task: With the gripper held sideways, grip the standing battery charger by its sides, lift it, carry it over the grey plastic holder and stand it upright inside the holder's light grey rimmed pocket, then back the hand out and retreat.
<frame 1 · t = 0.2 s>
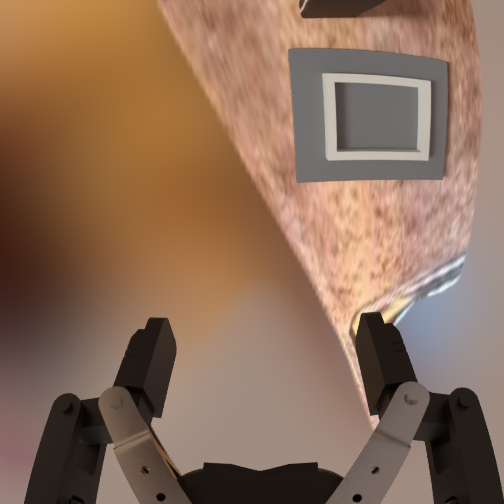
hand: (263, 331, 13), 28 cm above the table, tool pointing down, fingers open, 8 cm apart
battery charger: (326, 4, 27), on the table
holder: (374, 115, 34), on the table
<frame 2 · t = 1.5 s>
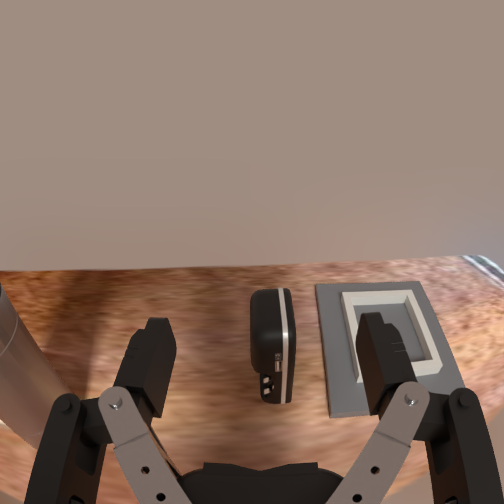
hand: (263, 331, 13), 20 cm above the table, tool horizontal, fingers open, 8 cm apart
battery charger: (271, 381, 33), on the table
holder: (385, 341, 36), on the table
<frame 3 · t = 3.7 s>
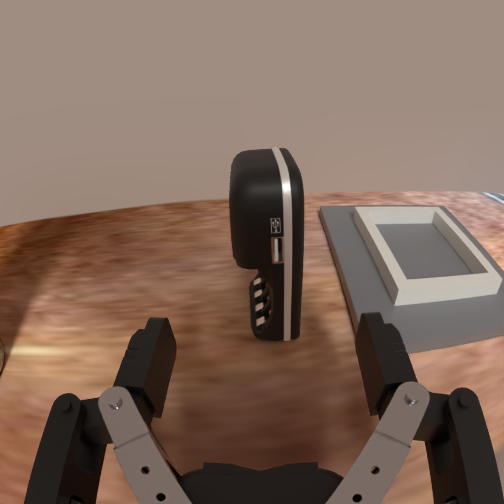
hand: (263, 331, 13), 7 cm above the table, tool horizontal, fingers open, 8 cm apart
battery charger: (267, 313, 23), on the table
holder: (418, 263, 27), on the table
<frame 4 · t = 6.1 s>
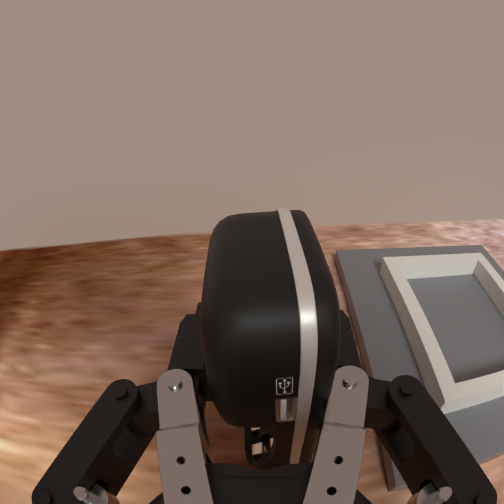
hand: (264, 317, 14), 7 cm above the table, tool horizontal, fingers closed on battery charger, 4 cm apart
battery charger: (267, 423, 16), on the table, touching gripper
holder: (459, 335, 19), on the table
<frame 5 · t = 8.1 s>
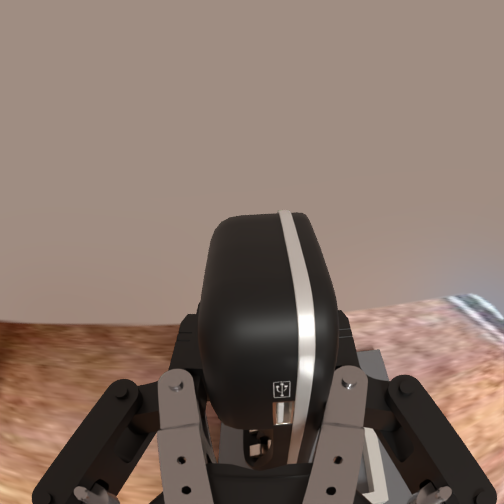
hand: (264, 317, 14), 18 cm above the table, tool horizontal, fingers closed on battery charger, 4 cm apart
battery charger: (266, 424, 16), point 11 cm above the table, touching gripper
holder: (313, 449, 23), on the table
when the fingers open (9 cm above the table, at t = 10.4 s): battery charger drops 1 cm, resting on holder.
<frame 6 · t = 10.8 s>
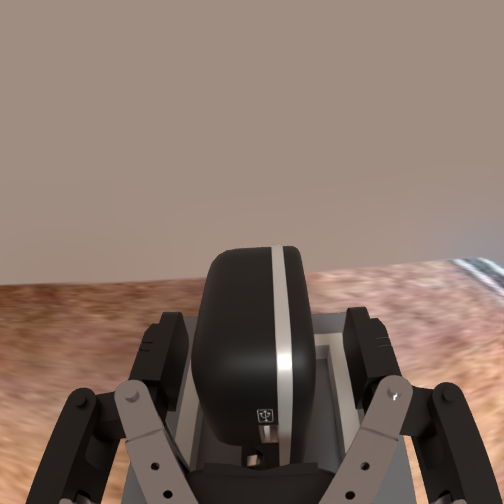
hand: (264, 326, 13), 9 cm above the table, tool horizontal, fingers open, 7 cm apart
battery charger: (265, 436, 16), point 1 cm above the table, touching holder
holder: (269, 439, 17), on the table
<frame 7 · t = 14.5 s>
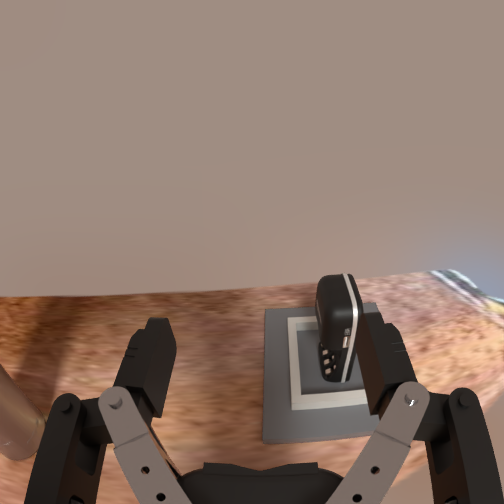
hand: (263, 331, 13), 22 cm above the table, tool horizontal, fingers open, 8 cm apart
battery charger: (329, 363, 36), point 1 cm above the table, touching holder
holder: (330, 367, 36), on the table
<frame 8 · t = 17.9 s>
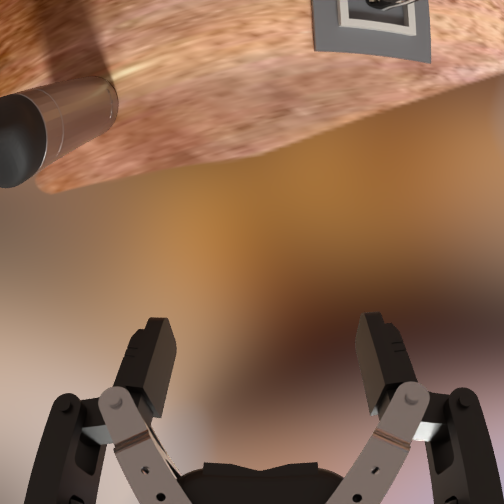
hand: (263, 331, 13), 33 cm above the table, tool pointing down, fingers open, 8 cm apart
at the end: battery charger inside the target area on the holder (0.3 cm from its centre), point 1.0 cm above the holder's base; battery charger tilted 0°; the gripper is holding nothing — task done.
